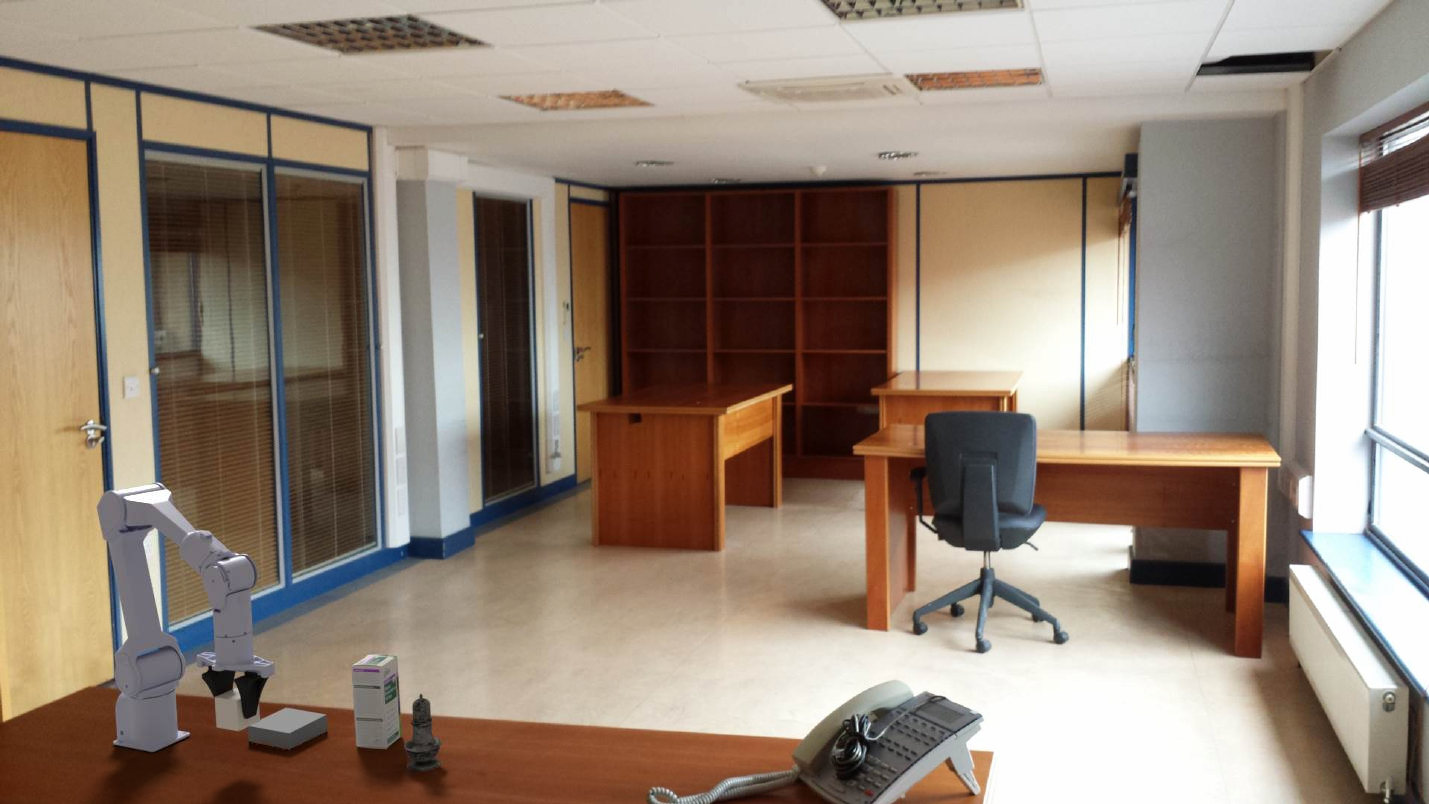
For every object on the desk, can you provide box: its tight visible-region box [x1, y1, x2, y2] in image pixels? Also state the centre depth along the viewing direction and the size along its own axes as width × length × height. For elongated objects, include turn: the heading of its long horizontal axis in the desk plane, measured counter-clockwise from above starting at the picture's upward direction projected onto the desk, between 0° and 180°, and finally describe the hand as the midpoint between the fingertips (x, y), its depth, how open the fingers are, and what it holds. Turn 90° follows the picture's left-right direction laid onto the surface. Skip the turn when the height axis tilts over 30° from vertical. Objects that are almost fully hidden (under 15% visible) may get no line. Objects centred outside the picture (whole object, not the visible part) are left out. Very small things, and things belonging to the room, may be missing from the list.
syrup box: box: [350, 653, 403, 750], centre depth 200 cm, size 6×6×14 cm
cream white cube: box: [214, 687, 261, 732], centre depth 190 cm, size 5×5×5 cm
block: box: [247, 707, 328, 749], centre depth 204 cm, size 9×9×3 cm
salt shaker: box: [403, 693, 442, 773], centre depth 191 cm, size 6×6×12 cm
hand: (237, 714), depth 190 cm, fingers closed on cream white cube, 5 cm apart
